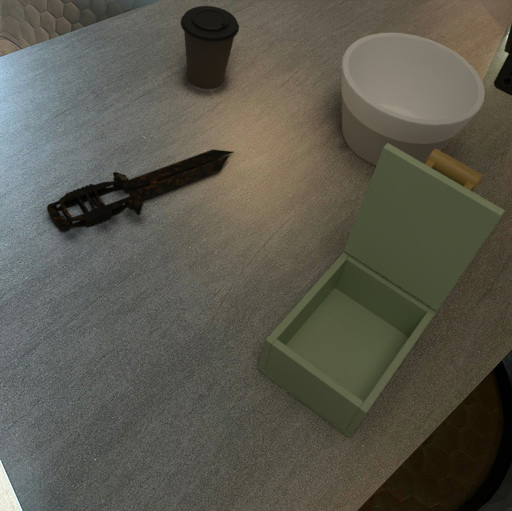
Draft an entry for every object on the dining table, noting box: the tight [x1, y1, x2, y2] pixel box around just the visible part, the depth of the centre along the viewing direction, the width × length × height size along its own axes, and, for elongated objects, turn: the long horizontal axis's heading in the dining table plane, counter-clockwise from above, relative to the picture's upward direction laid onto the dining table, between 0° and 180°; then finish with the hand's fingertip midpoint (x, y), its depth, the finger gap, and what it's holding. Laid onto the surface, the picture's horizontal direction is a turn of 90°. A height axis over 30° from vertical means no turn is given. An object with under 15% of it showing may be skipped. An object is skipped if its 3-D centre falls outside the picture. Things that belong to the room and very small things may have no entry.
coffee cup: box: [180, 5, 240, 90], centre depth 89 cm, size 8×8×10 cm
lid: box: [343, 143, 505, 312], centre depth 61 cm, size 15×12×5 cm
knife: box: [46, 149, 234, 232], centre depth 78 cm, size 25×6×1 cm, turn 118°
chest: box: [257, 251, 438, 439], centre depth 65 cm, size 15×12×6 cm
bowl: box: [340, 32, 486, 167], centre depth 86 cm, size 19×19×11 cm
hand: (506, 87), depth 55 cm, fingers closed
